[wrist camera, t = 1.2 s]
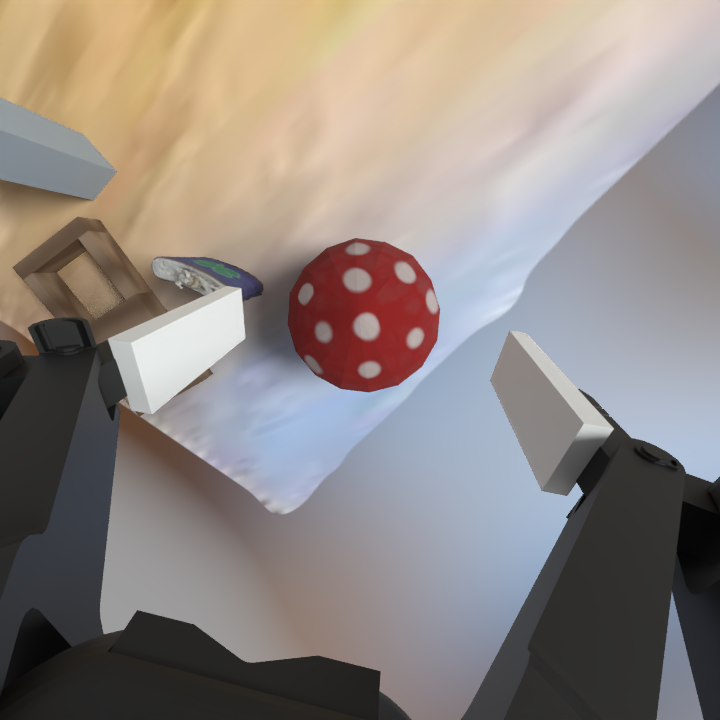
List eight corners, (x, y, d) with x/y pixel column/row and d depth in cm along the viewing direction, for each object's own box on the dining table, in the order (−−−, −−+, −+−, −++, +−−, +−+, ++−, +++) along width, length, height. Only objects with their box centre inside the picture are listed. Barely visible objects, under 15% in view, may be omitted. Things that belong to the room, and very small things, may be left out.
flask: (196, 271, 39) (134, 274, 29) (201, 250, 38) (139, 245, 28) (260, 300, 40) (222, 313, 30) (267, 280, 39) (230, 286, 29)
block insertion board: (37, 267, 40) (-95, 268, 29) (99, 220, 38) (-19, 201, 26) (153, 406, 46) (81, 453, 35) (212, 373, 44) (156, 412, 33)
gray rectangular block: (60, 165, 36) (-85, 119, 25) (83, 134, 35) (-58, 71, 24) (93, 200, 37) (-31, 172, 26) (116, 171, 36) (-3, 129, 25)
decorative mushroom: (284, 313, 41) (236, 340, 26) (356, 214, 36) (345, 183, 22) (373, 382, 43) (372, 440, 29) (449, 297, 39) (493, 317, 25)
